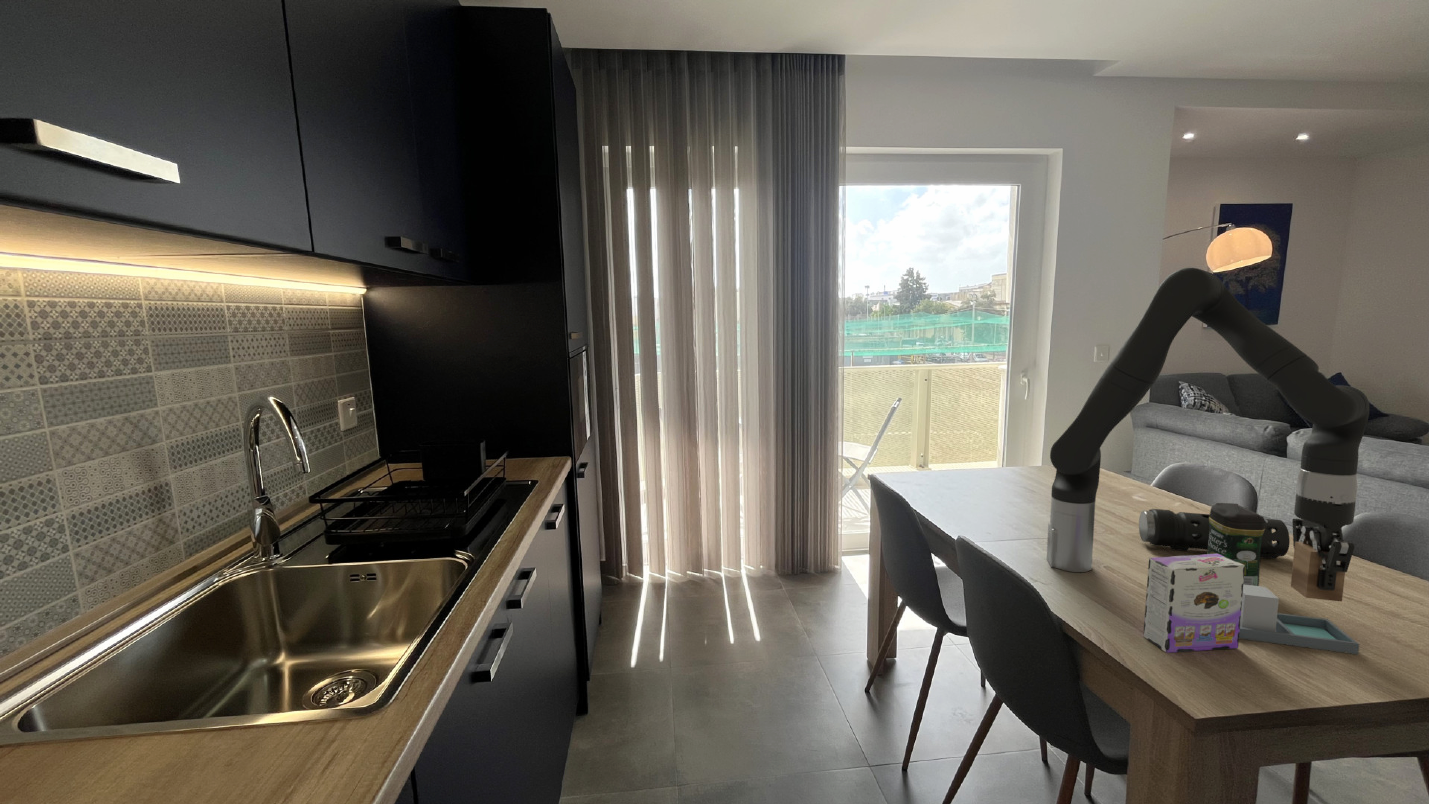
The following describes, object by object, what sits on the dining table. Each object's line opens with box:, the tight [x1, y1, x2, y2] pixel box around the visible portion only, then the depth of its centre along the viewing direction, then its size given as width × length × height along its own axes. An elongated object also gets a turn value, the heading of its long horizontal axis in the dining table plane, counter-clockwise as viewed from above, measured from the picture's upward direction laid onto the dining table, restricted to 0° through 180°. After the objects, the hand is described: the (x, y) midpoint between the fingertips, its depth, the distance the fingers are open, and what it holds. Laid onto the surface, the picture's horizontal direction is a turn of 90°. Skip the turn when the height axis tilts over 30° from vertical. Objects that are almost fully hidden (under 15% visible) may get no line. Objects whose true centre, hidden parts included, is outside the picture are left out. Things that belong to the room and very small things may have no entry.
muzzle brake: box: [1138, 508, 1291, 560], centre depth 147 cm, size 10×28×10 cm, turn 67°
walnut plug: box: [1290, 542, 1346, 602], centre depth 107 cm, size 5×5×9 cm
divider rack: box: [1239, 584, 1360, 655], centre depth 109 cm, size 18×9×8 cm, turn 68°
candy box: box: [1143, 554, 1245, 654], centre depth 107 cm, size 14×6×16 cm, turn 92°
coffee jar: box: [1206, 502, 1265, 586], centre depth 128 cm, size 10×8×19 cm
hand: (1316, 582), depth 107 cm, fingers closed on walnut plug, 5 cm apart
